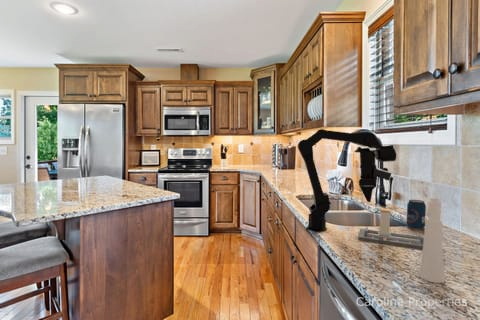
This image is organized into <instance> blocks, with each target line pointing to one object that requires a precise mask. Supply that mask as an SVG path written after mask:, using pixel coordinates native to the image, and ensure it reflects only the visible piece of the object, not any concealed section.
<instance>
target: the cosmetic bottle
mask: <svg viewBox="0 0 480 320" xmlns="http://www.w3.org/2000/svg"><path fill="white" fill-rule="evenodd" d="M427 205H428V206H427V218H426V217H425V227H424V233H423V234H424V235H423V237H424V242H423V249H422V252H421V260H420V261H421V262H420V265H419V270H418V274H417V275H418V277H419V278H421V279H422V280H424V281H426V282H430V283H433V282H434V284H443V283H445V282H446V277H445V269H444V254H443V253H444V251H443V250H444V248H443V247H444V246H443V243H444V242H443V237H444V236H443V220H442V219H441V216H442V215H441V211H442V210H441V209H442V202H441V199H440V198H439V197H434V196H433V197H431V196H430V197H429V201H428V203H427Z"/></svg>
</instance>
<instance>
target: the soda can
mask: <svg viewBox="0 0 480 320" xmlns="http://www.w3.org/2000/svg"><path fill="white" fill-rule="evenodd" d="M406 205H407V206H406V207H407V208H406V225H407V227H408V228H410V229H414V230H423V229H425V222H426V210H427V209H426V208H427V206H426V203H425V201H424V200H420V199H409V200H408V202H407V203H406Z"/></svg>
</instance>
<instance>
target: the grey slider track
mask: <svg viewBox="0 0 480 320" xmlns="http://www.w3.org/2000/svg"><path fill="white" fill-rule="evenodd" d="M378 232H380V230H378V229H377V230H376V229H375V230H374V229H370V228H368V227H364V228H359V231H358V241H363V242H370V243H377V244H383V245H391V246H395V247H396V246H397V247H403V248H412V249H419V250H423V242H424V235H423V234H422V233H421V234H420V233H419V234H418V235H415V234H407V233H406V234H405V233H401V232H400V233H399V232H391V231H389V233H391V236H385V235H378Z"/></svg>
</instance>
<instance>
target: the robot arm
mask: <svg viewBox="0 0 480 320" xmlns="http://www.w3.org/2000/svg"><path fill="white" fill-rule="evenodd" d="M321 140H331V141H338V142H348V143H352V144H353V145H357V146H358V147H357V148H356V149H355V150H354V152H353V153H359V162H360V163H359V164H360V165H359V168H360V179H358V186H359V188H360V190H361V192H362V193H363V196H364V198H365V200H366V201H367V203H371V200H372V197H373V190H374V189H375V188H377V185H378V184H377V183H378V178H380V179H383V180H385V181H390V179H391V176H392V174H393V173H392V172H391V171H389V169H388V167H383V168H382V169H381V168H378V167H377V165H376V161H378V163H385V162H386V163H388V162H395V161H396V160H397V152H396V149H395V148H394V144H387V145H381V143H379V142H378V140H377V138H376V135H375V133H373V132H369V131H368V132H367V131H366V132H355V133H354V132H353V133H351V132H345V131H336V130H327V129H323V128H321V129H318V130H316V132H314V133H313V134H312V135H311V136H309V137H308V138H307V139H301V140H300V141H299V142H298V143H297V149H298V152H299V153H300V156H301V158H302V160H303V161H304V164H305V167H306V171H307V174H308V178H309V179H308V180H309V183H310V185H311V189H312V193H313V194H312V195H313V196H312V197H313V203H312V205H311V206H309V208H308V210H309V212H310V213H309V214H308V226H306V227H305V228H306V229H307V230H311V231H314V232H317V233H320V232H323V231H326V230H328V228H327V227H326V223H327V219H326V214H327V213H328V212H329V211H330V209H331V206H330V205H332V202H330V197H329V194H328V193H327V192H324V191H323V189H322V184H321V181H320V178H319V174H318V172H317V168H316V164H315V160H314V149H313V147H315V145H316V144H318V143H319V142H320V141H321ZM363 147H364V148H363Z"/></svg>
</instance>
